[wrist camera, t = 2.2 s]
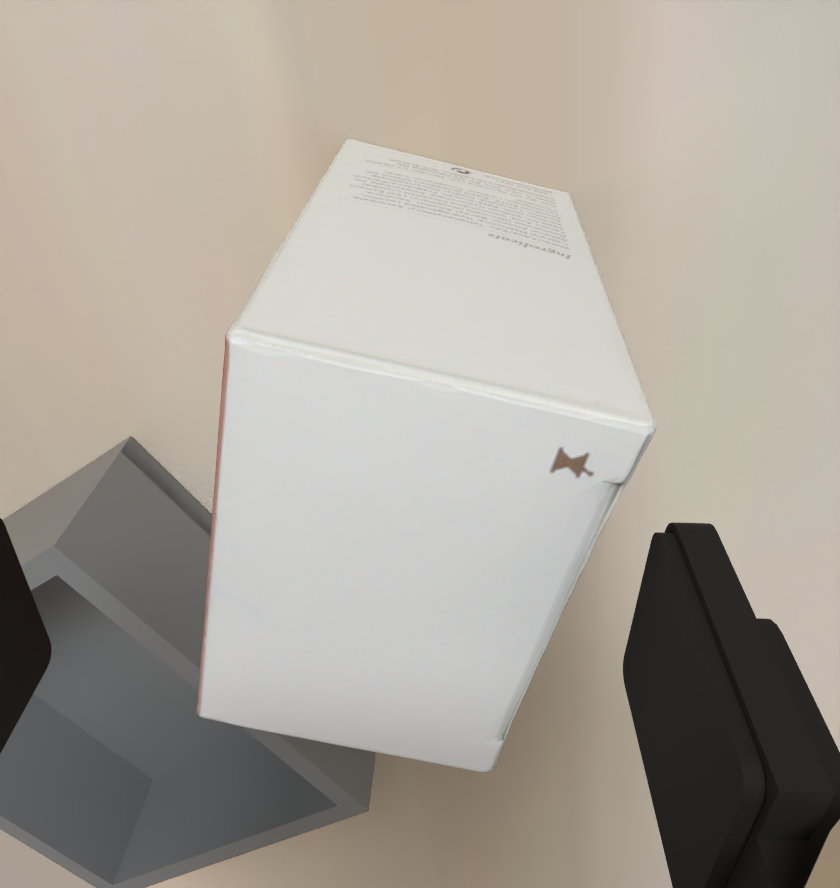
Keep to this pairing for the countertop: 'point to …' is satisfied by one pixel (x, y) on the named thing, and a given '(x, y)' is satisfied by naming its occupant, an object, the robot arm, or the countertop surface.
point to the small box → (411, 460)
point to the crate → (144, 696)
